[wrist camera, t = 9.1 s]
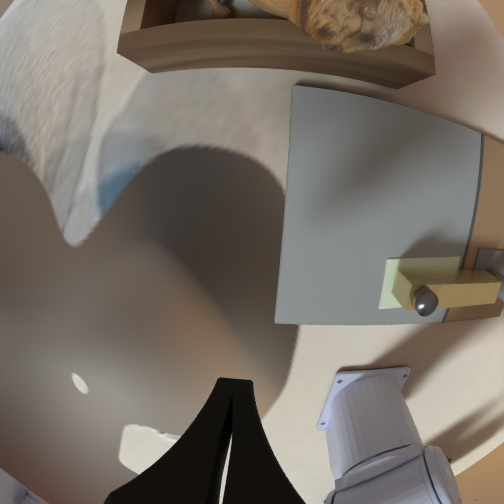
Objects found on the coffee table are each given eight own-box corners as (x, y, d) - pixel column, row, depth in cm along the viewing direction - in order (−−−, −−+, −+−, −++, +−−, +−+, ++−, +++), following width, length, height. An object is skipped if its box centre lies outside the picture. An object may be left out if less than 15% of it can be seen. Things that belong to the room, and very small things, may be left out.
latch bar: (485, 270, 16) (509, 288, 13) (479, 289, 17) (501, 309, 14) (396, 269, 17) (419, 292, 14) (391, 292, 17) (410, 318, 14)
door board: (495, 312, 20) (518, 335, 15) (274, 317, 20) (275, 356, 16) (530, 161, 14) (561, 168, 10) (291, 88, 15) (300, 67, 11)
